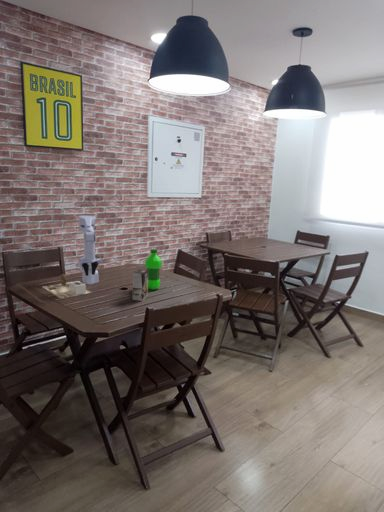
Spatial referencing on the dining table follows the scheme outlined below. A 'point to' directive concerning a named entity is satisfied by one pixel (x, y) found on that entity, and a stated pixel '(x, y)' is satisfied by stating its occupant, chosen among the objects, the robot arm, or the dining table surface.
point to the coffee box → (140, 284)
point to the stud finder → (77, 287)
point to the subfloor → (62, 290)
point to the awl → (63, 279)
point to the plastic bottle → (153, 269)
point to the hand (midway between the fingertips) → (90, 275)
